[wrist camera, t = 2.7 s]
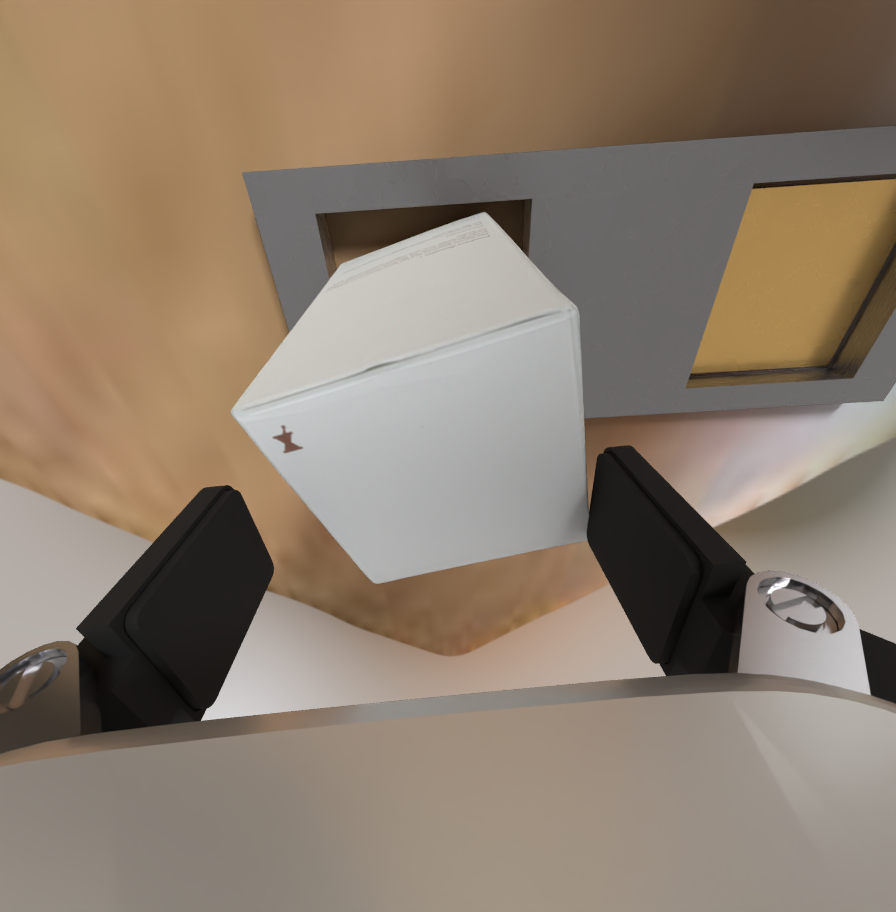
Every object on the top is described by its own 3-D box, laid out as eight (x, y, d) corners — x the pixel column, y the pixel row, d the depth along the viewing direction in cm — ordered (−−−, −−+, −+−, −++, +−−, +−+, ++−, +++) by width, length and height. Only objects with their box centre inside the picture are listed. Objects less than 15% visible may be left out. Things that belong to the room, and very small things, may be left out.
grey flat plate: (258, 175, 16) (241, 172, 14) (1022, 120, 15) (1078, 112, 14) (326, 420, 22) (319, 434, 21) (856, 389, 22) (883, 400, 21)
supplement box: (396, 393, 22) (366, 592, 12) (337, 260, 17) (209, 409, 7) (520, 358, 20) (597, 547, 11) (492, 205, 16) (583, 296, 6)
